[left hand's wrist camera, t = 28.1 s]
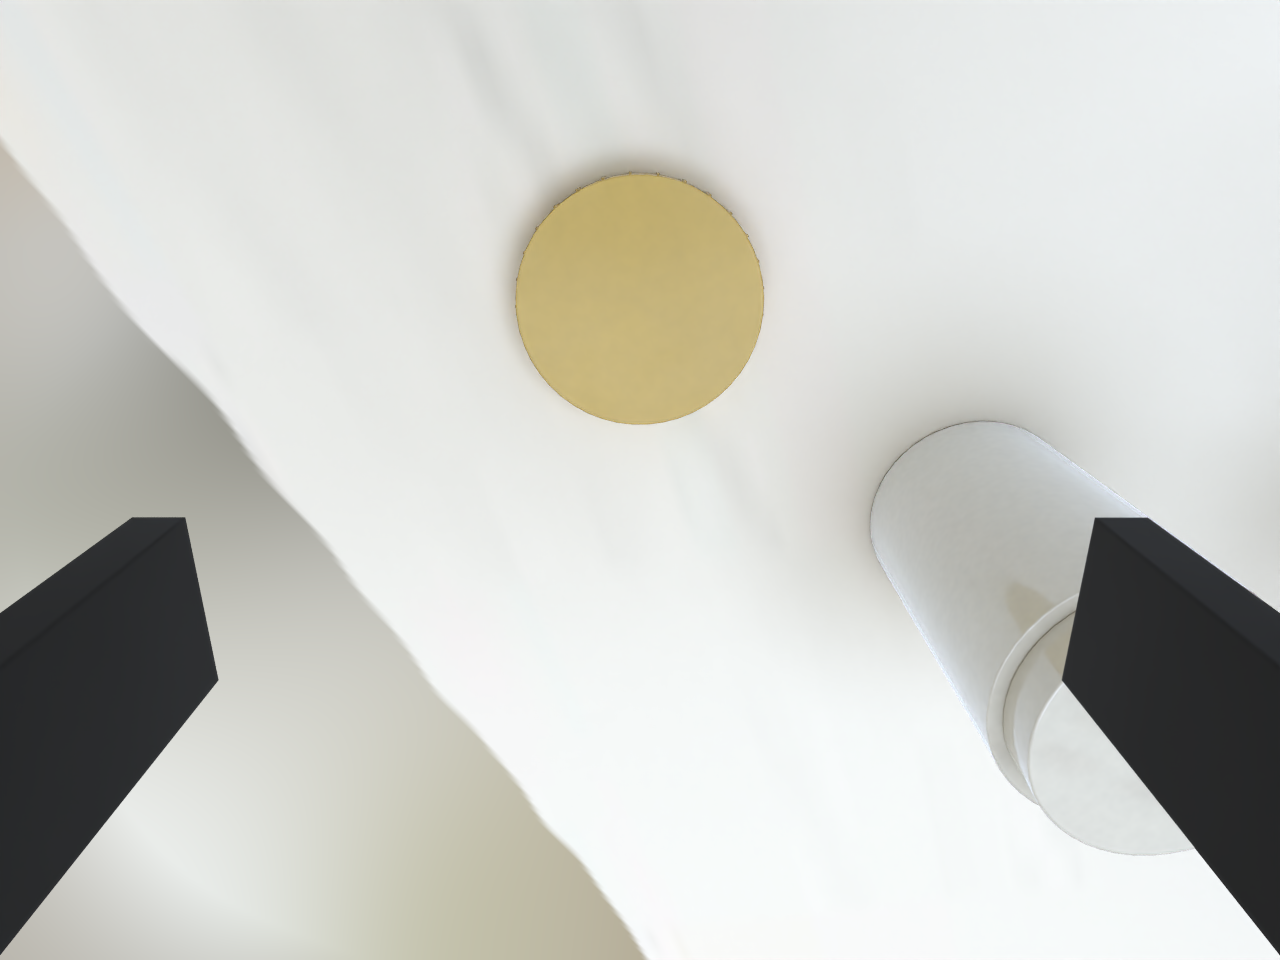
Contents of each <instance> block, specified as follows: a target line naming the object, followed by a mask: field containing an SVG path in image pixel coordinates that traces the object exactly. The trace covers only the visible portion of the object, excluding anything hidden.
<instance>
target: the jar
mask: <svg viewBox="0 0 1280 960" xmlns="http://www.w3.org/2000/svg"><path fill="white" fill-rule="evenodd" d="M1095 517H1148V516H1147V515H1145V514H1144V513H1143V512H1141V511H1140V510H1138V509H1137V508H1136V507H1134V506H1133V505H1131V504H1130V503H1129V502H1127V501H1126V500H1125V499H1123V498H1122V497H1120V496H1119V495H1118V494H1116V493H1115V492H1114V491H1112V490H1111V489H1109V488H1108V487H1107V486H1105V485H1104V484H1102V483H1101V482H1100V481H1098V480H1097V479H1096V478H1094V477H1093V476H1091V475H1090V474H1089V473H1087V472H1086V471H1084V470H1083V469H1082V468H1080V467H1079V466H1078V465H1076V464H1075V463H1073V462H1072V461H1071V460H1069V459H1068V458H1066V457H1065V456H1064V455H1062V454H1061V453H1060V452H1058V451H1057V450H1055V449H1054V448H1053V447H1051V446H1050V445H1048V444H1047V443H1046V442H1044V441H1043V440H1042V439H1040V438H1039V437H1037V436H1035V435H1034V434H1032V433H1031V432H1029V431H1026V430H1024V429H1022V428H1019V427H1017V426H1013V425H1010V424H1006V423H999V422H987V421H978V422H969V423H963V424H959V425H954V426H951V427H948V428H945V429H942V430H940V431H937V432H935V433H933V434H931V435H929V436H927V437H925V438H924V439H922V440H921V441H919V442H918V443H916V444H915V445H913V446H912V447H911V448H910V449H909V450H907V451H906V452H905V453H904V454H903V455H902V456H901V457H900V458H899V459H898V460H897V461H896V462H895V463H894V464H893V466H892V467H891V468H890V470H889V471H888V472H887V474H886V475H885V477H884V479H883V481H882V482H881V484H880V486H879V488H878V491H877V493H876V496H875V499H874V502H873V506H872V510H871V519H870V532H871V539H872V545H873V548H874V551H875V554H876V556H877V558H878V560H879V562H880V564H881V566H882V568H883V570H884V571H885V573H886V575H887V576H888V578H889V580H890V582H891V583H892V585H893V587H894V589H895V590H896V592H897V594H898V595H899V597H900V599H901V601H902V602H903V604H904V606H905V608H906V609H907V611H908V613H909V614H910V616H911V618H912V620H913V621H914V623H915V625H916V627H917V628H918V630H919V632H920V633H921V635H922V637H923V639H924V640H925V642H926V644H927V645H928V647H929V649H930V651H931V652H932V654H933V656H934V658H935V659H936V661H937V663H938V664H939V666H940V668H941V670H942V671H943V673H944V675H945V677H946V678H947V680H948V682H949V683H950V685H951V687H952V689H953V690H954V692H955V694H956V696H957V697H958V699H959V701H960V702H961V704H962V706H963V708H964V709H965V711H966V713H967V715H968V716H969V718H970V720H971V721H972V723H973V725H974V727H975V728H976V730H977V732H978V734H979V735H980V737H981V739H982V740H983V742H984V744H985V746H986V747H987V749H988V751H989V752H990V754H991V756H992V758H993V759H994V761H995V763H996V765H997V766H998V768H999V770H1000V771H1001V772H1002V774H1003V775H1004V777H1005V778H1006V779H1007V781H1008V782H1009V783H1010V784H1011V785H1012V786H1013V787H1014V788H1015V789H1016V790H1017V791H1018V792H1019V793H1021V794H1022V795H1023V796H1025V797H1026V798H1027V799H1029V800H1030V801H1032V802H1033V803H1035V804H1037V805H1039V806H1040V807H1041V809H1042V810H1043V812H1044V813H1045V814H1046V816H1047V817H1048V818H1049V819H1050V820H1051V821H1052V822H1053V823H1054V824H1055V825H1056V826H1057V827H1058V828H1060V829H1061V830H1062V831H1064V832H1065V833H1067V834H1068V835H1069V836H1071V837H1073V838H1075V839H1077V840H1078V841H1080V842H1082V843H1084V844H1086V845H1089V846H1092V847H1095V848H1098V849H1100V850H1104V851H1109V852H1113V853H1118V854H1127V855H1162V854H1171V853H1177V852H1182V851H1187V850H1191V849H1194V846H1193V845H1192V844H1191V843H1190V841H1189V840H1188V839H1187V838H1186V836H1185V835H1184V834H1183V832H1182V831H1181V830H1180V829H1179V827H1178V826H1177V825H1176V824H1175V822H1174V821H1173V820H1172V819H1171V817H1170V816H1169V815H1168V814H1167V812H1166V811H1165V810H1164V809H1163V807H1162V806H1161V805H1160V804H1159V802H1158V801H1157V800H1156V798H1155V797H1154V796H1153V795H1152V793H1151V792H1150V791H1149V790H1148V788H1147V787H1146V786H1145V785H1144V783H1143V782H1142V781H1141V780H1140V778H1139V777H1138V776H1137V775H1136V773H1135V772H1134V771H1133V770H1132V768H1131V767H1130V766H1129V764H1128V763H1127V762H1126V761H1125V759H1124V758H1123V757H1122V756H1121V754H1120V753H1119V752H1118V751H1117V749H1116V748H1115V747H1114V746H1113V744H1112V743H1111V742H1110V741H1109V739H1108V738H1107V737H1106V736H1105V734H1104V733H1103V732H1102V730H1101V729H1100V728H1099V727H1098V725H1097V724H1096V723H1095V722H1094V720H1093V719H1092V718H1091V717H1090V715H1089V714H1088V713H1087V712H1086V710H1085V709H1084V708H1083V707H1082V705H1081V704H1080V703H1079V702H1078V700H1077V699H1076V698H1075V696H1074V695H1073V694H1072V693H1071V691H1070V690H1069V689H1068V688H1067V686H1066V685H1065V684H1064V683H1063V681H1062V676H1063V671H1064V666H1065V661H1066V656H1067V651H1068V646H1069V641H1070V636H1071V632H1072V627H1073V622H1074V617H1075V612H1076V607H1077V602H1078V597H1079V592H1080V587H1081V583H1082V578H1083V573H1084V568H1085V563H1086V558H1087V553H1088V548H1089V543H1090V539H1091V534H1092V529H1093V524H1094V519H1095ZM1148 518H1149V517H1148ZM1149 519H1151V518H1149ZM1151 520H1152V519H1151ZM1152 521H1153V522H1155V521H1154V520H1152ZM1155 523H1156V522H1155ZM1156 524H1158V523H1156ZM1158 525H1159V524H1158ZM1159 526H1160V527H1162V526H1161V525H1159ZM1162 528H1163V527H1162ZM1163 529H1164V530H1166V529H1165V528H1163ZM1166 531H1167V530H1166ZM1167 532H1169V531H1167ZM1169 533H1170V532H1169ZM1170 534H1171V535H1173V534H1172V533H1170ZM1173 536H1174V535H1173ZM1174 537H1175V538H1177V537H1176V536H1174ZM1177 539H1178V540H1180V539H1179V538H1177ZM1180 541H1181V540H1180ZM1181 542H1182V543H1184V542H1183V541H1181ZM1184 544H1185V543H1184ZM1185 545H1187V544H1185ZM1187 546H1188V545H1187ZM1188 547H1189V548H1191V547H1190V546H1188ZM1191 549H1192V548H1191ZM1192 550H1193V551H1195V550H1194V549H1192ZM1195 552H1196V553H1198V552H1197V551H1195ZM1198 554H1199V553H1198ZM1199 555H1200V556H1202V555H1201V554H1199ZM1202 557H1203V556H1202ZM1203 558H1204V559H1206V558H1205V557H1203ZM1206 560H1207V561H1209V560H1208V559H1206ZM1209 562H1210V561H1209ZM1210 563H1211V564H1213V563H1212V562H1210ZM1213 565H1214V566H1215V567H1217V566H1216V565H1215V564H1213ZM1217 568H1218V569H1220V568H1219V567H1217ZM1220 570H1221V569H1220ZM1221 571H1222V572H1224V571H1223V570H1221ZM1224 573H1225V574H1227V573H1226V572H1224ZM1227 575H1228V574H1227ZM1228 576H1229V577H1231V576H1230V575H1228ZM1231 578H1232V577H1231ZM1232 579H1233V580H1235V579H1234V578H1232ZM1235 581H1236V582H1238V581H1237V580H1235ZM1238 583H1239V582H1238ZM1239 584H1240V585H1242V584H1241V583H1239ZM1242 586H1243V587H1244V588H1246V587H1245V586H1244V585H1242ZM1246 589H1247V590H1249V589H1248V588H1246ZM1249 591H1250V590H1249ZM1250 592H1251V593H1253V592H1252V591H1250ZM1253 594H1254V593H1253ZM1254 595H1255V596H1257V595H1256V594H1254ZM1257 597H1258V596H1257ZM1258 598H1259V597H1258ZM1262 601H1263V600H1262Z"/></svg>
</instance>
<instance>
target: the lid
mask: <svg viewBox="0 0 1280 960" xmlns="http://www.w3.org/2000/svg"><path fill="white" fill-rule="evenodd" d="M553 208H554V210H553V211H552V212H551V213H550V214H549V215H548V216H547V217H546V218H545V219H544V220H543V222H542V223H541V224H540V225H539V226H537V227H536V232H535V233H534V235H533V237H532V238H531V240H530V242H529V244H528V246H527V248H526V250H525V251H524V252H523V254H524V256H523V259H522V262H521V265H520V269H519V273H518V277H517V279H516V281H517V285H516V305H515V307H516V315H517V320H518V326H519V331H520V334H521V337H522V340H523V343H524V346H525V348H526V350H527V352H528V355H529V357H530V359H531V361H532V362H533V364H534V365H535V367H536V369H537V370H538V372H539V373H540V375H541V376H542V377H543V378H544V379H545V381H546V382H547V383H548V384H549V385H550V386H551V387H552V388H553V389H554V390H555V391H556V392H557V393H558V394H559V395H560V396H561V397H563V398H564V399H565V400H567V401H568V402H570V403H571V404H572V405H574V406H576V407H577V408H579V409H581V410H583V411H585V412H587V413H589V414H591V415H594V416H596V417H599V418H602V419H605V420H609V421H613V422H617V423H625V424H654V423H662V422H666V421H670V420H674V419H678V418H681V417H683V416H686V415H688V414H691V413H693V412H695V411H697V410H698V409H700V408H702V407H704V406H706V405H707V404H708V403H710V402H711V401H713V400H714V399H715V398H717V397H718V396H719V395H720V394H721V393H722V392H724V391H725V390H726V389H727V388H728V387H729V386H730V385H731V384H732V382H733V381H734V380H735V379H736V378H737V376H738V375H739V374H740V373H741V371H742V369H743V368H744V366H745V365H746V363H747V361H748V360H749V358H750V356H751V353H752V351H753V349H754V347H755V345H756V342H757V338H758V335H759V332H760V328H761V323H762V317H763V306H764V292H763V289H764V286H763V281H762V276H761V271H760V267H759V260H758V259H757V258H756V255H755V252H754V249H753V247H752V245H751V243H750V242H749V240H748V238H747V237H749V236H748V235H747V234H746V233H745V232H744V231H743V230H742V228H741V227H740V225H739V224H738V223H737V221H736V220H735V219H734V218H733V217H732V216H731V215H732V213H731V212H730V211H729V210H726V209H725V208H724V207H723V206H721V205H720V204H719V203H718V202H717V201H715V200H714V199H713V198H712V197H711V194H709V193H708V192H706V193H704V192H702V191H701V190H699V189H697V188H696V187H694V186H692V185H690V184H687V181H686V180H684V179H683V180H682V181H681V180H678V179H674V178H671V177H667V176H664V175H660V174H659V173H658V172H656V174H649V173H632V171H629V174H623V175H616V176H612V177H609V178H605V176H604V177H602V178H601V180H599V181H596V182H594V183H592V184H590V185H588V186H585V187H584V188H582V189H581V188H580V187H579V188H578V189H576V193H574V194H572V195H571V196H569V197H568V198H566V199H565V200H564V201H563V202H562V203H560V204H559V203H558V204H557V205H555V206H554V207H553Z"/></svg>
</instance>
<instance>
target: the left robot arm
mask: <svg viewBox="0 0 1280 960" xmlns="http://www.w3.org/2000/svg"><path fill="white" fill-rule="evenodd" d="M217 681H218V676H217V671H216V666H215V661H214V656H213V651H212V646H211V641H210V636H209V632H208V627H207V622H206V617H205V612H204V607H203V602H202V597H201V593H200V588H199V583H198V578H197V573H196V568H195V563H194V558H193V553H192V548H191V543H190V539H189V534H188V529H187V524H186V519H185V518H184V517H182V518H181V517H180V518H176V517H174V518H173V517H168V518H167V517H166V518H165V517H164V518H163V517H162V518H161V517H160V518H158V517H156V518H155V517H147V518H144V517H143V518H142V517H140V518H139V517H136V518H134V517H133V518H131V519H129V520H128V521H127V522H125V523H124V524H122V525H121V526H120V527H118V528H117V529H116V530H114V531H113V532H111V533H110V534H109V535H107V536H106V537H105V538H103V539H102V540H100V541H99V542H98V543H96V544H95V545H93V546H92V547H91V548H89V549H88V550H87V551H85V552H84V553H82V554H81V555H80V556H78V557H77V558H76V559H74V560H73V561H71V562H70V563H69V564H67V565H66V566H65V567H63V568H62V569H60V570H59V571H58V572H56V573H55V574H54V575H52V576H51V577H49V578H48V579H47V580H45V581H44V582H42V583H41V584H40V585H38V586H37V587H36V588H34V589H33V590H31V591H30V592H29V593H27V594H26V595H25V596H23V597H22V598H20V599H19V600H18V601H16V602H15V603H13V604H12V605H11V606H9V607H8V608H7V609H5V610H4V611H2V612H1V613H0V955H1V953H2V952H3V951H4V950H5V948H6V947H7V946H8V944H9V943H10V942H11V941H12V940H13V938H14V937H15V936H16V934H17V933H18V932H19V931H20V929H21V928H22V927H23V926H24V924H25V923H26V922H27V921H28V919H29V918H30V917H31V916H32V914H33V913H34V912H35V911H36V909H37V908H38V907H39V905H40V904H41V903H42V902H43V901H44V899H45V898H46V897H47V895H48V894H49V893H50V892H51V890H52V889H53V888H54V887H55V885H56V884H57V883H58V882H59V880H60V879H61V878H62V877H63V875H64V874H65V873H66V871H67V870H68V869H69V868H70V866H71V865H72V864H73V863H74V861H75V860H76V859H77V858H78V856H79V855H80V854H81V853H82V851H83V850H84V849H85V848H86V846H87V845H88V844H89V843H90V841H91V840H92V839H93V838H94V836H95V835H96V834H97V832H98V831H99V830H100V829H101V827H102V826H103V825H104V824H105V822H106V821H107V820H108V819H109V817H110V816H111V815H112V814H113V812H114V811H115V810H116V809H117V807H118V806H119V805H120V803H121V802H122V801H123V800H124V798H125V797H126V796H127V795H128V793H129V792H130V791H131V790H132V788H133V787H134V786H135V785H136V783H137V782H138V781H139V780H140V778H141V777H142V776H143V775H144V773H145V772H146V771H147V770H148V768H149V767H150V766H151V764H152V763H153V762H154V761H155V759H156V758H157V757H158V756H159V754H160V753H161V752H162V751H163V749H164V748H165V747H166V746H167V744H168V743H169V742H170V741H171V739H172V738H173V737H174V736H175V734H176V733H177V732H178V730H179V729H180V728H181V727H182V725H183V724H184V723H185V722H186V720H187V719H188V718H189V717H190V715H191V714H192V713H193V712H194V710H195V709H196V708H197V707H198V705H199V704H200V703H201V702H202V700H203V699H204V698H205V696H206V695H207V694H208V693H209V691H210V690H211V689H212V688H213V686H214V685H215V684H216V683H217ZM1062 681H1063V683H1064V684H1065V685H1066V686H1067V688H1068V689H1069V690H1070V691H1071V693H1072V694H1073V695H1074V696H1075V698H1076V699H1077V700H1078V702H1079V703H1080V704H1081V705H1082V707H1083V708H1084V709H1085V710H1086V712H1087V713H1088V714H1089V715H1090V717H1091V718H1092V719H1093V720H1094V722H1095V723H1096V724H1097V725H1098V727H1099V728H1100V729H1101V730H1102V732H1103V733H1104V734H1105V736H1106V737H1107V738H1108V739H1109V741H1110V742H1111V743H1112V744H1113V746H1114V747H1115V748H1116V749H1117V751H1118V752H1119V753H1120V754H1121V756H1122V757H1123V758H1124V759H1125V761H1126V762H1127V763H1128V764H1129V766H1130V767H1131V768H1132V770H1133V771H1134V772H1135V773H1136V775H1137V776H1138V777H1139V778H1140V780H1141V781H1142V782H1143V783H1144V785H1145V786H1146V787H1147V788H1148V790H1149V791H1150V792H1151V793H1152V795H1153V796H1154V797H1155V798H1156V800H1157V801H1158V802H1159V804H1160V805H1161V806H1162V807H1163V809H1164V810H1165V811H1166V812H1167V814H1168V815H1169V816H1170V817H1171V819H1172V820H1173V821H1174V822H1175V824H1176V825H1177V826H1178V827H1179V829H1180V830H1181V831H1182V832H1183V834H1184V835H1185V836H1186V838H1187V839H1188V840H1189V841H1190V843H1191V844H1192V845H1193V846H1194V848H1195V849H1196V850H1197V851H1198V853H1199V854H1200V855H1201V856H1202V858H1203V859H1204V860H1205V861H1206V863H1207V864H1208V865H1209V867H1210V868H1211V869H1212V870H1213V872H1214V873H1215V874H1216V875H1217V877H1218V878H1219V879H1220V880H1221V882H1222V883H1223V884H1224V885H1225V887H1226V888H1227V889H1228V890H1229V892H1230V893H1231V894H1232V895H1233V897H1234V898H1235V899H1236V901H1237V902H1238V903H1239V904H1240V906H1241V907H1242V908H1243V909H1244V911H1245V912H1246V913H1247V914H1248V916H1249V917H1250V918H1251V919H1252V921H1253V922H1254V923H1255V924H1256V926H1257V927H1258V928H1259V929H1260V931H1261V932H1262V933H1263V935H1264V936H1265V937H1266V938H1267V940H1268V941H1269V942H1270V943H1271V945H1272V946H1273V947H1274V948H1275V950H1276V951H1277V952H1278V953H1279V955H1280V613H1279V612H1278V611H1276V610H1275V609H1273V608H1272V607H1271V606H1269V605H1268V604H1267V603H1265V602H1264V601H1262V600H1261V599H1260V598H1258V597H1257V596H1255V595H1254V594H1253V593H1251V592H1250V591H1249V590H1247V589H1246V588H1244V587H1243V586H1242V585H1240V584H1239V583H1238V582H1236V581H1235V580H1233V579H1232V578H1231V577H1229V576H1228V575H1227V574H1225V573H1224V572H1222V571H1221V570H1220V569H1218V568H1217V567H1215V566H1214V565H1213V564H1211V563H1210V562H1209V561H1207V560H1206V559H1204V558H1203V557H1202V556H1200V555H1199V554H1198V553H1196V552H1195V551H1193V550H1192V549H1191V548H1189V547H1188V546H1187V545H1185V544H1184V543H1182V542H1181V541H1180V540H1178V539H1177V538H1175V537H1174V536H1173V535H1171V534H1170V533H1169V532H1167V531H1166V530H1164V529H1163V528H1162V527H1160V526H1159V525H1158V524H1156V523H1155V522H1153V521H1152V520H1151V519H1149V518H1148V517H1095V519H1094V524H1093V529H1092V534H1091V539H1090V543H1089V548H1088V553H1087V558H1086V563H1085V568H1084V573H1083V578H1082V583H1081V587H1080V592H1079V597H1078V602H1077V607H1076V612H1075V617H1074V622H1073V627H1072V632H1071V636H1070V641H1069V646H1068V651H1067V656H1066V661H1065V666H1064V671H1063V676H1062Z"/></svg>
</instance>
